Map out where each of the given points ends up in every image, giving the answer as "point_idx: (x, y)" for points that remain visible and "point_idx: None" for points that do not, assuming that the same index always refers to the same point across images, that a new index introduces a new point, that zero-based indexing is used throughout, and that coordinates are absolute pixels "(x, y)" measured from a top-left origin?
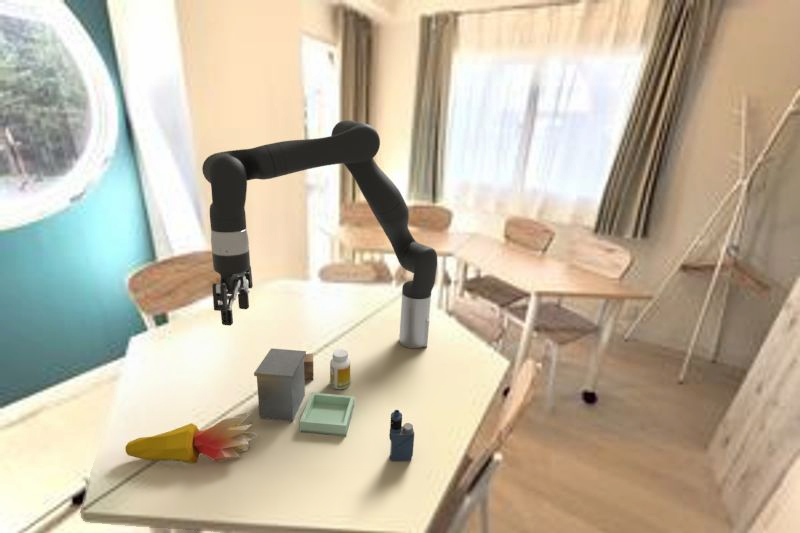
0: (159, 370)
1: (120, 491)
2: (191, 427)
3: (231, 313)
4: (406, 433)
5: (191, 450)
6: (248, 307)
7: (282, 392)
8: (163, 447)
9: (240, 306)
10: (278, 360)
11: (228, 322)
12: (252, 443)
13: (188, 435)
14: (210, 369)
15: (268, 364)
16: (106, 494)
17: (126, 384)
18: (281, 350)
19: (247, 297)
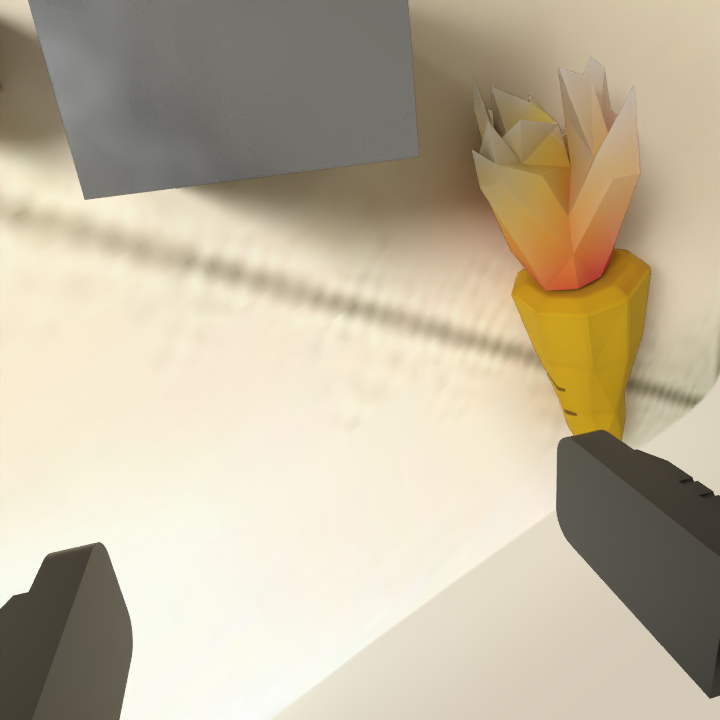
0: (193, 678)
1: (666, 371)
2: (603, 303)
3: (696, 515)
4: None
5: (628, 257)
6: (68, 550)
7: None
8: (638, 344)
9: (124, 646)
10: (227, 51)
11: (660, 460)
12: (469, 108)
13: (633, 288)
14: (108, 539)
15: (302, 106)
16: (674, 394)
17: (299, 692)
18: (76, 97)
19: (20, 710)
